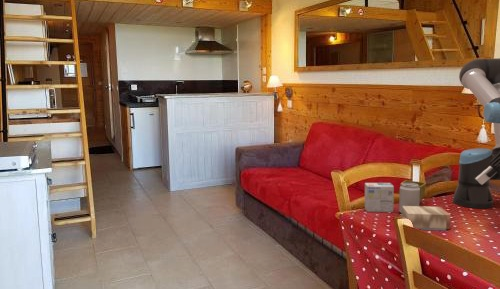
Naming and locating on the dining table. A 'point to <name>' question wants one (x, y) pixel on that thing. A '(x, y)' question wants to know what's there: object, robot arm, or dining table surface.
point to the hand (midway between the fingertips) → (478, 181)
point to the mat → (433, 229)
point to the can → (409, 195)
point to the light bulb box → (379, 197)
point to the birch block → (427, 216)
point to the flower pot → (421, 185)
